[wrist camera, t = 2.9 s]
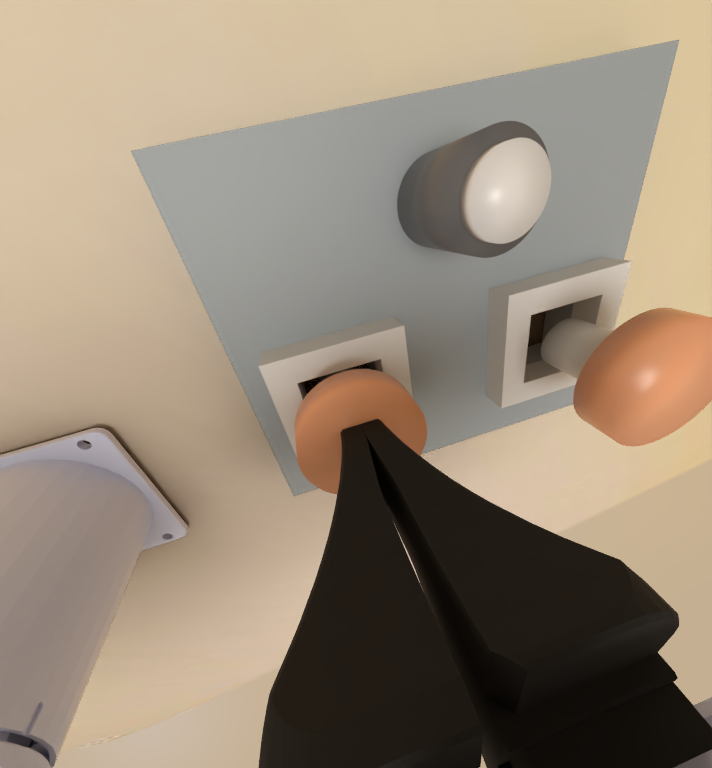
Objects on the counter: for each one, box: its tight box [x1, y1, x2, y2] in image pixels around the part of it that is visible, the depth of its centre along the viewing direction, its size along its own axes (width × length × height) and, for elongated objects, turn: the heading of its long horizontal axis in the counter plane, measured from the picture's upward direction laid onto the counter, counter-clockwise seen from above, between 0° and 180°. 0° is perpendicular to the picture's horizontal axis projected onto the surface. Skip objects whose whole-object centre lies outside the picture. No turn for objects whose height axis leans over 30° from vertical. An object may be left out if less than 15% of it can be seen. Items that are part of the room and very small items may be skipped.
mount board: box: [131, 40, 679, 496], centre depth 13 cm, size 18×15×3 cm
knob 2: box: [541, 308, 712, 446], centre depth 12 cm, size 5×5×4 cm
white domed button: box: [397, 121, 551, 258], centre depth 9 cm, size 3×3×4 cm
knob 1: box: [294, 367, 427, 494], centre depth 12 cm, size 5×5×4 cm
